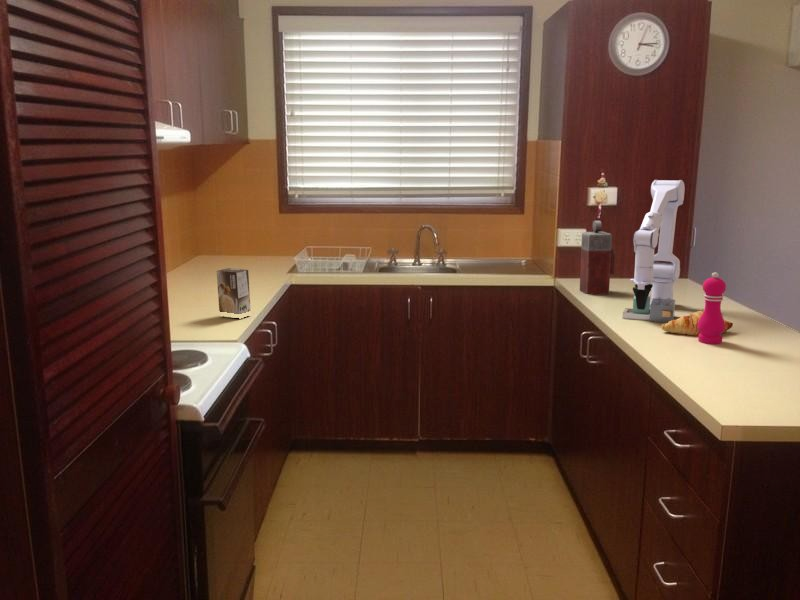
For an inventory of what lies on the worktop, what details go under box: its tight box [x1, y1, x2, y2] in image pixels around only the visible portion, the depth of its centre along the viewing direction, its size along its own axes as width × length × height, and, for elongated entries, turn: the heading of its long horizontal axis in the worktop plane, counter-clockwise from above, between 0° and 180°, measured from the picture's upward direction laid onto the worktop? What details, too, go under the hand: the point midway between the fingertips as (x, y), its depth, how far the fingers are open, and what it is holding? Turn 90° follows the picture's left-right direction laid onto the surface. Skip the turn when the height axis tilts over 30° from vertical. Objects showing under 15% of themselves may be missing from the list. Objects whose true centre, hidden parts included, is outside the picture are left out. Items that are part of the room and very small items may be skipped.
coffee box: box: [216, 267, 252, 314], centre depth 238 cm, size 9×6×16 cm
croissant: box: [660, 310, 734, 336], centre depth 212 cm, size 21×10×8 cm, turn 91°
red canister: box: [579, 220, 616, 295], centre depth 275 cm, size 9×11×28 cm
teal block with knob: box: [632, 295, 651, 314], centre depth 233 cm, size 5×5×6 cm
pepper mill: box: [697, 271, 727, 345], centre depth 200 cm, size 7×7×20 cm
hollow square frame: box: [621, 297, 676, 323], centre depth 232 cm, size 12×16×6 cm
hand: (641, 307), depth 233 cm, fingers closed on teal block with knob, 5 cm apart
